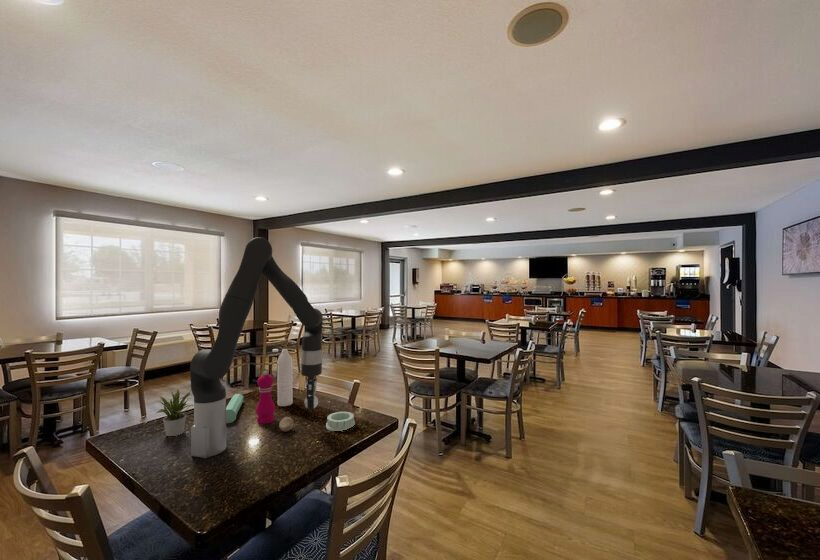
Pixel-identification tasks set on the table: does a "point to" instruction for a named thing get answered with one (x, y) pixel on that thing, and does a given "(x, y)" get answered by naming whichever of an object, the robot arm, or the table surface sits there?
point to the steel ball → (314, 401)
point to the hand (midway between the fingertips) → (311, 406)
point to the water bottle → (284, 378)
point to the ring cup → (340, 421)
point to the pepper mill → (265, 399)
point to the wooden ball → (286, 424)
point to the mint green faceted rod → (233, 407)
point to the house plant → (174, 414)
